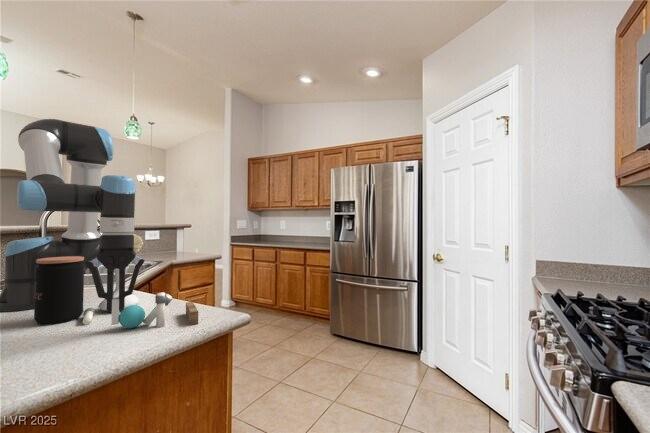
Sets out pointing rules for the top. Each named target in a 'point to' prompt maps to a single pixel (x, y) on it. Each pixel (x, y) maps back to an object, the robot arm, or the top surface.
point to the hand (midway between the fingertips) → (115, 322)
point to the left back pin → (88, 316)
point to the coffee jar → (58, 289)
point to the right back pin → (160, 309)
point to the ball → (132, 316)
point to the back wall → (192, 313)
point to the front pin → (153, 313)
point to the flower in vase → (128, 299)
